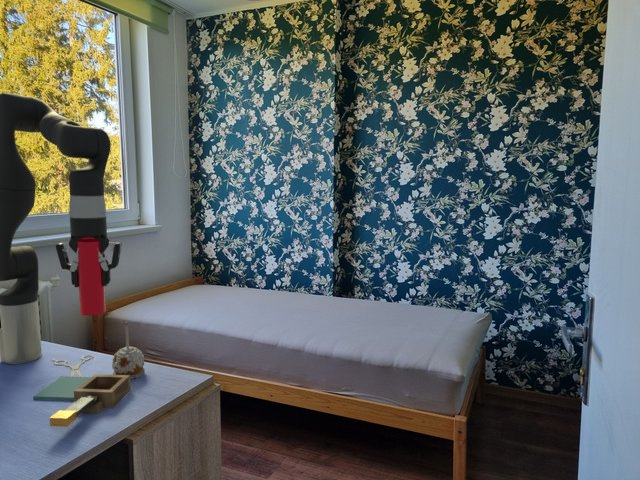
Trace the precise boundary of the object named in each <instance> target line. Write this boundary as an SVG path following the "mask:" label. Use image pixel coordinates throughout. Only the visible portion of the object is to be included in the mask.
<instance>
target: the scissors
mask: <svg viewBox="0 0 640 480" xmlns="http://www.w3.org/2000/svg"><path fill="white" fill-rule="evenodd" d="M87 357H89V358H87ZM80 359H81V361H82V362H80V363H78V364H76V365H70V364H68V362H69V361H68V360H67V359H60V360H58V359H57V360H56V359H55V358H53V359H51V361H52V362H53V363H54V365H55V366H64V367H66V368H67V367H68V368H70V369H71V373H70V376H69V377H75V375H78V377H84V376H83V374H82V372H81V371H80V367H81V365H83V364H85V363H86V362H87V361H90V360H92V359H94V355H93V354H87V355H83V356H82V357H81V358H80ZM59 362H62V363H59Z"/></svg>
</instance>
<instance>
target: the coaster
mask: <svg viewBox="0 0 640 480" xmlns="http://www.w3.org/2000/svg"><path fill="white" fill-rule="evenodd" d="M91 377H92V376H83V377H80V376H73V377H70V376H64V375H61V376H59V377H58V379H55V381H53V382H51V383H50V384H49V385H47V386H45V387H44V388H42V390H39V392H37V393H36V394H34V395H33V396H32V398H33V400H36V401H37V400H40V401H43V400H45V401H73V402H74V391H75V390H76V389H77V388H78V387H80V386H81V385H82V384H83V383H85V382H86V381H87V380H88V379H90V378H91Z"/></svg>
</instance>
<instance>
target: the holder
mask: <svg viewBox="0 0 640 480" xmlns="http://www.w3.org/2000/svg"><path fill="white" fill-rule="evenodd" d="M90 377H91V378H90V379H88V380H87V381H86V382H85V383H83V384H82V385H81V386H80V387H78V388H77V389H76V390H75V391H74V401H73V402H74V403H75V402H76V401H77V400H79V399H80V398H81V396H98V397H99V399H98V401H97V402H94V404H93V405H91V406H90V407H89V408H88V409H87V410H85V411H84V412H83V413H82V414H84V415H85V414H87V415H88V414H89V415H91V414H93V415H99V414H100V413H101V412H102V411H103V410H104V409H110V410H111V409H114V408H115V407H116V406H117V405H118V404H119V403H120V402H121V401H122V400H123V399H124V398H125V397H126V396H127V395H128V394H129V393H130V392H131V379H130V375H113V374H97V373H95V374H94V375H92V376H90Z"/></svg>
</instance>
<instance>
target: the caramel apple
mask: <svg viewBox="0 0 640 480" xmlns="http://www.w3.org/2000/svg"><path fill="white" fill-rule="evenodd" d="M124 326H125V327H124V328H125V331H124V333H125V347H122V348H120V349H118V351H116V352H115V353H114V354H113V357H112V365H111V367H112V370H114V371H113V373H112V375H130V380H132V379H136V378H139V377H141V376H143V374H144V373H145V368H144V366H145V354H143V351H142V350H140V349H139V348H138V347H134V346H130V337H129V336H130V335H129V334H130V333H129V321H125V322H124Z"/></svg>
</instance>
